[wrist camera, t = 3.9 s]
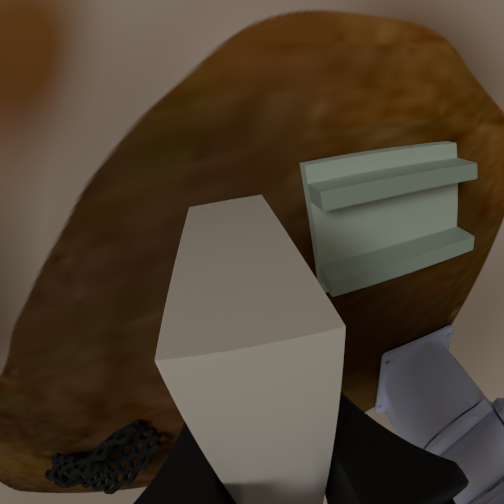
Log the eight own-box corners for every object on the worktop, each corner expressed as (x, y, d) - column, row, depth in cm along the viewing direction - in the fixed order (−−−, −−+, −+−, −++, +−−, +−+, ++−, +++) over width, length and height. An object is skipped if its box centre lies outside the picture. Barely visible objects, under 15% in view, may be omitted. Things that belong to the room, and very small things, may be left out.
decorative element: (128, 407, 23) (118, 460, 18) (170, 431, 25) (167, 482, 20) (45, 453, 27) (36, 485, 21) (75, 470, 29) (68, 502, 23)
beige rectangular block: (287, 415, 15) (317, 526, 9) (244, 423, 15) (261, 537, 8) (261, 194, 10) (345, 326, 4) (189, 207, 10) (155, 360, 3)
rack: (447, 245, 20) (471, 262, 17) (317, 285, 20) (333, 311, 17) (446, 141, 17) (476, 147, 14) (299, 163, 16) (316, 171, 14)
